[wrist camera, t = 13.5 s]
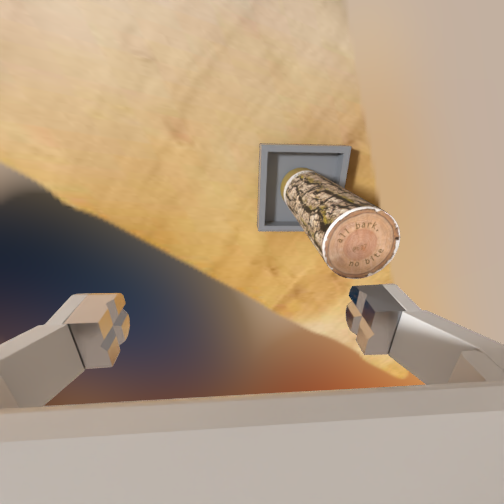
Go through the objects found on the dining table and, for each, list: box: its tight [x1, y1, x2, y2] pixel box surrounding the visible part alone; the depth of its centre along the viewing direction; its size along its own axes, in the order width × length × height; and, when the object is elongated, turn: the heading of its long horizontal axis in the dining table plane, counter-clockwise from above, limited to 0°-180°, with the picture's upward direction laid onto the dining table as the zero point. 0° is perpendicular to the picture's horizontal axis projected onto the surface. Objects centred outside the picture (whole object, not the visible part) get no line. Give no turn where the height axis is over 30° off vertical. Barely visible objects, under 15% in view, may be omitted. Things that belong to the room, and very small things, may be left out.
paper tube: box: [280, 168, 400, 279], centre depth 35 cm, size 7×7×25 cm
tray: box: [257, 143, 351, 231], centre depth 45 cm, size 14×14×3 cm
